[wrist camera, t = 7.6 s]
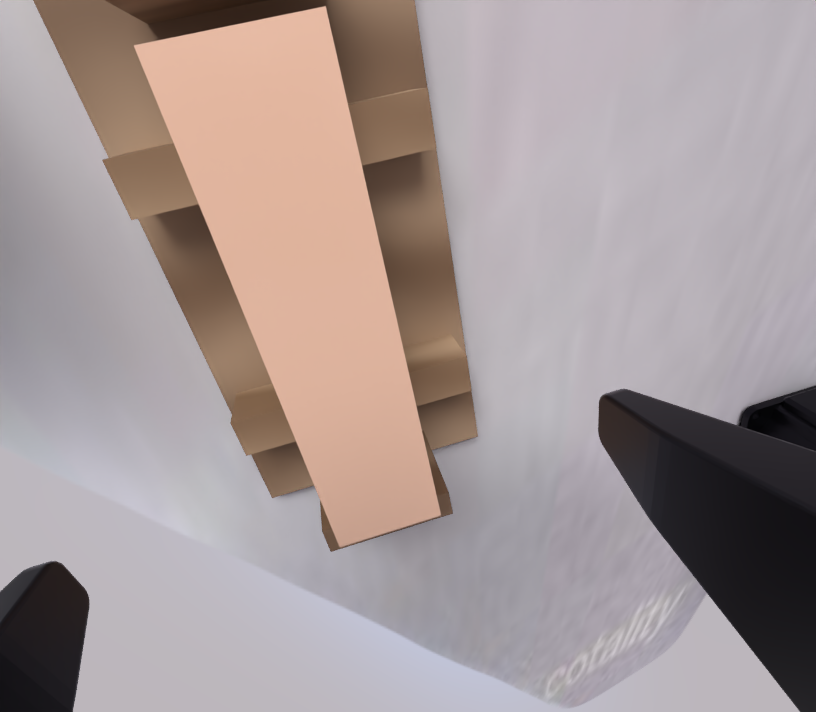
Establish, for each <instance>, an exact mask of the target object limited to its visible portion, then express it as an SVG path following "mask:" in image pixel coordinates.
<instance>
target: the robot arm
mask: <svg viewBox="0 0 816 712" xmlns="http://www.w3.org/2000/svg"><path fill="white" fill-rule="evenodd" d="M598 432H599V437H600V440H601V443H602V445H603V446H604V448H605V450H606V451H607V453H608V454H609V456H610V458H611V459H612V461H613V462H614V464H615V466H616V467H617V469H618V470H619V472H620V473H621V475H622V477H623V478H624V480H625V481H626V483H627V485H628V486H629V488H630V489H631V491H632V493H633V494H634V496H635V497H636V499H637V501H638V502H639V504H640V505H641V507H642V508H643V510H644V511H645V513H646V514H647V516H648V517H649V519H650V520H651V522H652V523H653V524H654V526H655V527H656V528H657V530H658V531H659V532H660V534H661V535H662V536H663V537H664V539H665V540H666V541H667V543H668V544H669V545H670V546H671V548H672V549H673V550H674V551H675V553H676V554H677V555H678V557H679V558H680V559H681V560H682V562H683V563H684V564H685V565H686V567H687V568H688V569H689V571H690V572H691V573H692V574H693V576H694V577H695V578H696V580H697V581H698V582H699V583H700V585H701V586H702V587H703V588H704V590H705V591H706V592H707V594H708V595H709V596H710V597H711V599H712V600H713V601H714V602H715V604H716V605H717V606H718V608H719V609H720V610H721V611H722V613H723V614H724V615H725V616H726V618H727V619H728V620H729V622H730V623H731V624H732V625H733V627H734V628H735V629H736V630H737V632H738V633H739V634H740V636H741V637H742V638H743V639H744V641H745V642H746V643H747V645H748V646H749V647H750V648H751V650H752V651H753V652H754V653H755V655H756V656H757V657H758V659H759V660H760V661H761V662H762V664H763V665H764V666H765V667H766V669H767V670H768V671H769V673H770V674H771V675H772V676H773V678H774V679H775V680H776V681H777V683H778V684H779V685H780V687H781V688H782V689H783V690H784V692H785V693H786V694H787V696H788V697H789V698H790V699H791V701H792V702H793V703H794V705H795V706H796V707H797V708H798V710H799V711H800V712H816V386H813V387H810V388H807V389H804V390H801V391H797V392H794V393H791V394H788V395H784V396H781V397H778V398H775V399H772V400H768V401H765V402H762V403H759V404H756V405H752V406H750V407H749V408H747V409H746V410H745V412H744V413H743V417H742V421H741V426H737V425H734V424H731V423H728V422H725V421H722V420H719V419H716V418H713V417H710V416H707V415H704V414H701V413H698V412H695V411H692V410H689V409H686V408H682V407H679V406H676V405H673V404H670V403H667V402H664V401H661V400H658V399H655V398H652V397H649V396H646V395H643V394H640V393H637V392H634V391H631V390H627V389H620V390H616V391H613V392H610V393H606V394H604V395H602V396H601V398H600V400H599V424H598ZM88 612H89V597H88V594H87V591H86V590H85V588H84V587H83V586H82V585H81V584H80V583H79V582H78V581H77V580H76V578H74V576H73V575H72V574H71V573H70V572H69V571H68V570H67V569H66V567H65V566H64V565H63V564H61V563H59V562H57V561H50V562H47V563H43V564H40V565H37V566H33V567H30V568H28V569H26V570H24V571H22V572H21V573H20V574H19V575H18V576H17V577H15V578H14V579H13V580H12V581H11V582H10V583H9V584H8V585H7V586H6V587H5V588H4V589H3V590H1V592H0V712H73V707H74V701H75V696H76V690H77V684H78V677H79V670H80V664H81V657H82V651H83V645H84V638H85V631H86V625H87V618H88Z"/></svg>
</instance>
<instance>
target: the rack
mask: <svg viewBox="0 0 816 712" xmlns="http://www.w3.org/2000/svg"><path fill="white" fill-rule="evenodd" d="M33 1H34V3H35V5H36V7H37V9H38V11H39V13H40V15H41V17H42V19H43V22H44V24H45V26H46V28H47V30H48V32H49V34H50V36H51V38H52V40H53V42H54V44H55V47H56V49H57V51H58V53H59V55H60V57H61V59H62V61H63V63H64V65H65V67H66V69H67V72H68V74H69V76H70V78H71V80H72V82H73V84H74V86H75V88H76V90H77V92H78V94H79V97H80V99H81V101H82V103H83V105H84V107H85V109H86V111H87V113H88V115H89V117H90V119H91V122H92V124H93V126H94V128H95V130H96V132H97V134H98V136H99V138H100V140H101V142H102V144H103V147H104V149H105V151H106V153H107V155H108V157H109V158H108V159H104V160H102V161H103V163H104V165H105V167H106V169H107V171H108V173H109V175H110V177H111V179H112V181H113V183H114V185H115V187H116V189H117V191H118V193H119V195H120V197H121V199H122V202H123V204H124V206H125V208H126V210H127V212H128V214H129V216H130V218H131V220H134V219H139V222H140V224H141V226H142V228H143V230H144V232H145V234H146V236H147V238H148V240H149V242H150V244H151V247H152V249H153V251H154V253H155V255H156V257H157V259H158V261H159V263H160V265H161V267H162V269H163V272H164V274H165V276H166V278H167V280H168V282H169V284H170V286H171V288H172V290H173V292H174V294H175V297H176V299H177V301H178V303H179V305H180V307H181V309H182V311H183V313H184V315H185V317H186V319H187V322H188V324H189V326H190V328H191V330H192V332H193V334H194V336H195V338H196V340H197V342H198V344H199V347H200V349H201V351H202V353H203V355H204V357H205V359H206V361H207V363H208V365H209V367H210V369H211V372H212V374H213V376H214V378H215V380H216V382H217V384H218V386H219V388H220V390H221V392H222V394H223V397H224V399H225V401H226V403H227V405H228V407H229V409H230V411H231V413H232V418H231V425H232V427H233V429H234V431H235V433H236V435H237V437H238V439H239V441H240V443H241V445H242V448H243V450H244V452H245V454H246V456H247V455H252V457H253V459H254V461H255V463H256V465H257V467H258V469H259V472H260V474H261V476H262V478H263V480H264V482H265V484H266V486H267V488H268V490H269V492H270V494H271V497H272V498H274V497H277V496H280V495H284V494H287V493H290V492H294V491H297V490H300V489H304V488H307V487H310V486H314V484H313V481H312V479H311V476H310V474H309V471H308V469H307V467H306V464H305V462H304V459H303V457H302V454H301V452H300V450H299V447H298V445H297V442H296V440H295V437H294V435H293V432H292V430H291V428H290V425H289V423H288V420H287V418H286V415H285V413H284V411H283V408H282V406H281V403H280V401H279V398H278V396H277V393H276V391H275V389H274V386H273V384H272V381H271V379H270V376H269V374H268V372H267V369H266V367H265V364H264V362H263V359H262V357H261V355H260V352H259V350H258V347H257V345H256V342H255V340H254V337H253V335H252V333H251V330H250V328H249V325H248V323H247V320H246V318H245V316H244V313H243V311H242V308H241V306H240V303H239V301H238V299H237V296H236V294H235V291H234V289H233V286H232V284H231V281H230V279H229V277H228V274H227V272H226V269H225V267H224V264H223V262H222V260H221V257H220V255H219V252H218V250H217V247H216V245H215V242H214V240H213V238H212V235H211V233H210V230H209V228H208V225H207V223H206V221H205V218H204V216H203V213H202V211H201V208H200V206H199V204H198V201H197V199H196V196H195V194H194V191H193V189H192V186H191V184H190V182H189V179H188V177H187V174H186V172H185V169H184V167H183V165H182V162H181V160H180V157H179V155H178V152H177V150H176V148H175V145H174V143H173V140H172V138H171V135H170V133H169V130H168V128H167V126H166V123H165V121H164V118H163V116H162V113H161V111H160V109H159V106H158V104H157V101H156V99H155V96H154V94H153V91H152V89H151V87H150V84H149V82H148V79H147V77H146V74H145V72H144V70H143V67H142V65H141V62H140V60H139V57H138V55H137V53H136V50H135V48H134V45H138V44H143V43H148V42H153V41H158V40H163V39H168V38H173V37H177V36H182V35H187V34H192V33H197V32H202V31H207V30H212V29H217V28H221V27H226V26H231V25H236V24H241V23H246V22H251V21H256V20H261V19H265V18H270V17H275V16H280V15H285V14H290V13H295V12H300V11H304V10H309V9H314V8H319V7H324V6H326V10H327V14H328V19H329V23H330V28H331V32H332V36H333V41H334V45H335V50H336V54H337V58H338V63H339V67H340V72H341V76H342V80H343V85H344V89H345V94H346V98H347V102H348V107H349V111H350V116H351V120H352V125H353V129H354V133H355V138H356V142H357V147H358V151H359V155H360V160H361V164H362V169H363V173H364V177H365V182H366V186H367V191H368V195H369V199H370V204H371V208H372V213H373V217H374V222H375V226H376V230H377V235H378V239H379V244H380V248H381V252H382V257H383V261H384V266H385V270H386V274H387V279H388V283H389V288H390V292H391V296H392V301H393V305H394V310H395V314H396V318H397V323H398V327H399V332H400V336H401V341H402V345H403V349H404V354H405V358H406V363H407V367H408V371H409V376H410V380H411V385H412V389H413V393H414V398H415V402H416V407H417V411H418V415H419V420H420V424H421V429H422V433H423V438H424V442H425V446H426V451H427V455H428V460H429V464H430V468H431V473H432V477H433V482H434V486H435V490H436V495H437V499H438V504H439V508H440V512H441V516H438V517H435V518H432V519H428V520H425V521H422V522H419V523H416V524H413V525H409V526H406V527H403V528H400V529H397V530H394V531H390V532H387V533H384V534H381V535H378V536H375V537H372V538H368V539H365V540H362V541H359V542H356V543H353V544H349V545H346V546H343V547H339V544H338V542H337V540H336V537H335V535H334V532H333V530H332V527H331V525H330V523H329V520H328V518H327V515H326V513H325V510H324V508H323V506H322V503H321V501H320V505H321V519H322V532H323V534H324V537H325V539H326V541H327V544H328V546H329V548H330V551H331V552H332V551H335V550H338V549H341V548H344V547H348V546H351V545H354V544H357V543H360V542H363V541H367V540H370V539H373V538H376V537H379V536H383V535H386V534H389V533H392V532H395V531H398V530H402V529H405V528H408V527H411V526H414V525H417V524H421V523H424V522H427V521H430V520H433V519H437V518H440V517H443V516H446V515H449V514H452V513H453V512H452V507H451V502H450V497H449V492H448V490H447V487H446V485H445V482H444V480H443V477H442V475H441V472H440V470H439V468H438V465H437V463H436V460H435V458H434V455H433V453H432V450H434V449H437V448H441V447H444V446H447V445H451V444H454V443H457V442H461V441H464V440H467V439H471V438H474V437H477V436H478V434H477V427H476V420H475V413H474V406H473V399H472V392H471V391H472V390H471V383H470V376H469V369H468V362H467V356H466V351H465V344H464V337H463V331H462V324H461V317H460V310H459V303H458V296H457V289H456V283H455V276H454V269H453V262H452V255H451V248H450V241H449V234H448V228H447V221H446V214H445V207H444V200H443V193H442V186H441V180H440V173H439V166H438V159H437V152H436V142H435V135H434V128H433V121H432V115H431V108H430V101H429V94H428V88H427V83H426V77H425V70H424V63H423V56H422V49H421V42H420V35H419V29H418V22H417V15H416V8H415V1H414V0H33Z"/></svg>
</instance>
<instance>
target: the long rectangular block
mask: <svg viewBox="0 0 816 712" xmlns="http://www.w3.org/2000/svg"><path fill="white" fill-rule="evenodd" d="M134 48H135V50H136V53H137V55H138V57H139V60H140V62H141V65H142V67H143V70H144V72H145V74H146V77H147V79H148V82H149V84H150V87H151V89H152V91H153V94H154V96H155V99H156V101H157V104H158V106H159V109H160V111H161V113H162V116H163V118H164V121H165V123H166V126H167V128H168V130H169V133H170V135H171V138H172V140H173V143H174V145H175V148H176V150H177V152H178V155H179V157H180V160H181V162H182V165H183V167H184V169H185V172H186V174H187V177H188V179H189V182H190V184H191V186H192V189H193V191H194V194H195V196H196V199H197V201H198V204H199V206H200V208H201V211H202V213H203V216H204V218H205V221H206V223H207V225H208V228H209V230H210V233H211V235H212V238H213V240H214V242H215V245H216V247H217V250H218V252H219V255H220V257H221V260H222V262H223V264H224V267H225V269H226V272H227V274H228V277H229V279H230V281H231V284H232V286H233V289H234V291H235V294H236V296H237V299H238V301H239V303H240V306H241V308H242V311H243V313H244V316H245V318H246V320H247V323H248V325H249V328H250V330H251V333H252V335H253V337H254V340H255V342H256V345H257V347H258V350H259V352H260V355H261V357H262V359H263V362H264V364H265V367H266V369H267V372H268V374H269V376H270V379H271V381H272V384H273V386H274V389H275V391H276V393H277V396H278V398H279V401H280V403H281V406H282V408H283V411H284V413H285V415H286V418H287V420H288V423H289V425H290V428H291V430H292V432H293V435H294V437H295V440H296V442H297V445H298V447H299V450H300V452H301V454H302V457H303V459H304V462H305V464H306V467H307V469H308V471H309V474H310V476H311V479H312V481H313V484H314V486H315V488H316V491H317V493H318V496H319V498H320V501H321V503H322V506H323V508H324V510H325V513H326V515H327V518H328V520H329V523H330V525H331V527H332V530H333V532H334V535H335V537H336V540H337V542H338V544H339V547H343V546H346V545H349V544H353V543H356V542H359V541H362V540H365V539H368V538H372V537H375V536H378V535H381V534H384V533H387V532H390V531H394V530H397V529H400V528H403V527H406V526H409V525H413V524H416V523H419V522H422V521H425V520H428V519H432V518H435V517H438V516H441V512H440V508H439V504H438V499H437V495H436V490H435V486H434V482H433V477H432V473H431V468H430V464H429V460H428V455H427V451H426V446H425V442H424V438H423V433H422V429H421V424H420V420H419V415H418V411H417V407H416V402H415V398H414V393H413V389H412V385H411V380H410V376H409V371H408V367H407V363H406V358H405V354H404V349H403V345H402V341H401V336H400V332H399V327H398V323H397V318H396V314H395V310H394V305H393V301H392V296H391V292H390V288H389V283H388V279H387V274H386V270H385V266H384V261H383V257H382V252H381V248H380V244H379V239H378V235H377V230H376V226H375V222H374V217H373V213H372V208H371V204H370V199H369V195H368V191H367V186H366V182H365V177H364V173H363V169H362V164H361V160H360V155H359V151H358V147H357V142H356V138H355V133H354V129H353V125H352V120H351V116H350V111H349V107H348V102H347V98H346V94H345V89H344V85H343V80H342V76H341V72H340V67H339V63H338V58H337V54H336V50H335V45H334V41H333V36H332V32H331V28H330V23H329V19H328V14H327V10H326V6H324V7H319V8H314V9H309V10H304V11H300V12H295V13H290V14H285V15H280V16H275V17H270V18H265V19H261V20H256V21H251V22H246V23H241V24H236V25H231V26H226V27H221V28H217V29H212V30H207V31H202V32H197V33H192V34H187V35H182V36H177V37H173V38H168V39H163V40H158V41H153V42H148V43H143V44H138V45H134Z"/></svg>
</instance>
